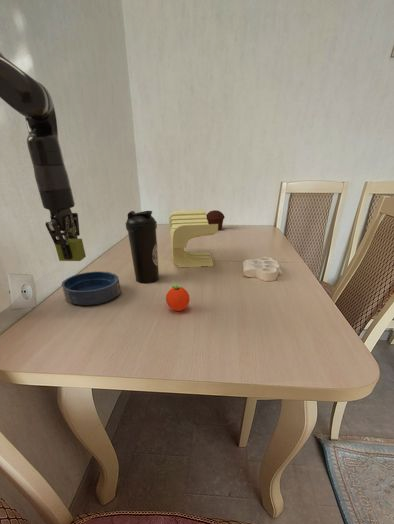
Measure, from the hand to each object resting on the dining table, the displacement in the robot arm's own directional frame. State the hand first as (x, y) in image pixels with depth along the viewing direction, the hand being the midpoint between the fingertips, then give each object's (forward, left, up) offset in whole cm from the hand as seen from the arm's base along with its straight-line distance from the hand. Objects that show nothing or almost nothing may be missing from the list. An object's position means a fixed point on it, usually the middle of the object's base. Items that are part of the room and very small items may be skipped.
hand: (72, 256), depth 82 cm
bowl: (0, +8, -15) cm, 17 cm away
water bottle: (+15, +23, -16) cm, 32 cm away
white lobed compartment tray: (+58, +31, -16) cm, 68 cm away
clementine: (+29, -1, -16) cm, 33 cm away
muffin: (+39, +105, -16) cm, 113 cm away
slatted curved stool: (+30, +43, -16) cm, 55 cm away
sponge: (0, 0, -1) cm, 1 cm away
